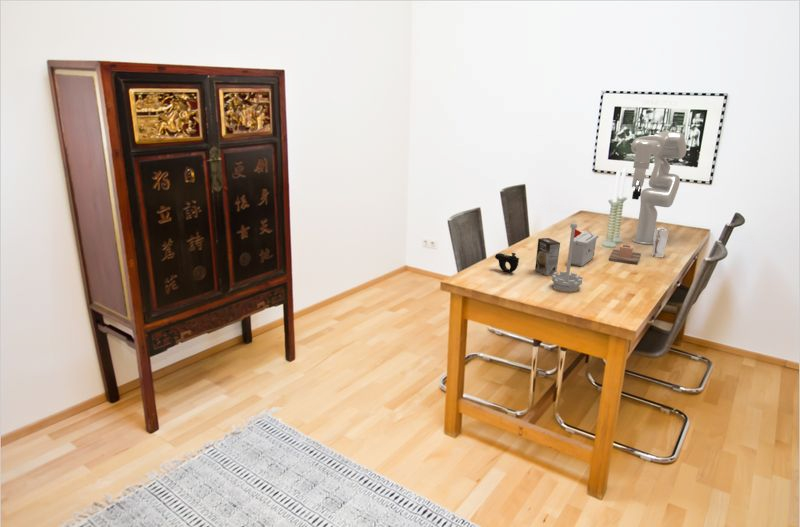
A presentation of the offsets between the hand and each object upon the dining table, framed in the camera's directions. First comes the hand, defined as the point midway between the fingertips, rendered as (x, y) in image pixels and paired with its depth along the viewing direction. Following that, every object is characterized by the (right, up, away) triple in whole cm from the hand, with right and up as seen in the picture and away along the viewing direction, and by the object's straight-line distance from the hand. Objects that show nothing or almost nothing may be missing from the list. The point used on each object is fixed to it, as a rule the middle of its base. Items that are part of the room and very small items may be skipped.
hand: (636, 197), depth 295 cm
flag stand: (-51, -46, -46) cm, 83 cm away
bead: (-7, -31, -2) cm, 32 cm away
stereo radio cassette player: (-32, -34, -9) cm, 48 cm away
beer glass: (+13, -31, +4) cm, 34 cm away
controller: (-75, -39, -27) cm, 89 cm away
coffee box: (-55, -40, -27) cm, 73 cm away
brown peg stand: (-7, -32, -2) cm, 33 cm away
